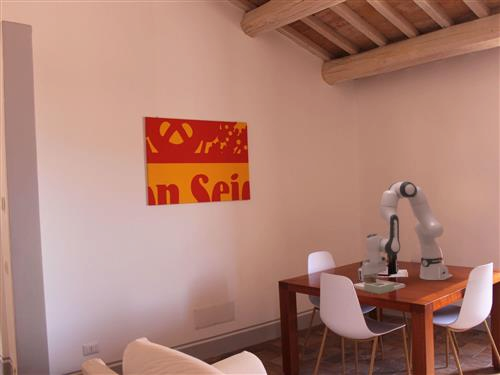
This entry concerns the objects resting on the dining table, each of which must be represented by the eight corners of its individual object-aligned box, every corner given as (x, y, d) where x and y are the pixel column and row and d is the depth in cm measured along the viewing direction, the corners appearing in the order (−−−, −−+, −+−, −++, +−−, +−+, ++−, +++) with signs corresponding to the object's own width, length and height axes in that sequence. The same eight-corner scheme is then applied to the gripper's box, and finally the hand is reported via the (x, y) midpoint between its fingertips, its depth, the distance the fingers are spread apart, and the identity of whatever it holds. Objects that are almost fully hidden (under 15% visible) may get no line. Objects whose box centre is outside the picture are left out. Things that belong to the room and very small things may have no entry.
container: (363, 281, 313) (362, 262, 314) (358, 279, 321) (357, 261, 321) (374, 280, 315) (372, 261, 315) (369, 278, 323) (367, 260, 323)
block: (370, 281, 304) (370, 277, 304) (376, 282, 300) (376, 278, 300) (365, 282, 301) (364, 278, 301) (370, 283, 297) (370, 279, 297)
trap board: (377, 282, 310) (376, 275, 310) (406, 287, 290) (406, 280, 290) (351, 288, 297) (350, 281, 297) (380, 294, 277) (379, 286, 277)
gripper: (365, 261, 295) (367, 282, 295) (387, 257, 306) (388, 278, 306) (358, 260, 300) (359, 281, 300) (380, 256, 311) (381, 276, 311)
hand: (374, 279), depth 303 cm, fingers closed
